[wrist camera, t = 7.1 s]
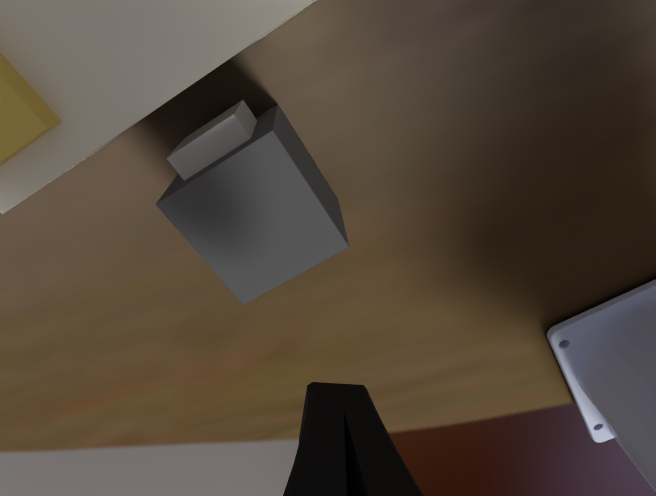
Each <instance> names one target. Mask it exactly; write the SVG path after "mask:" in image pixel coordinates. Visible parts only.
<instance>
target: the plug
mask: <svg viewBox="0 0 656 496" xmlns="http://www.w3.org/2000/svg"><path fill="white" fill-rule="evenodd" d="M166 159H167V160H168V161H169V162H170V164H171V165H172V166H173V167H174V169H175V170H176V171H177V172H178V173H179V174H178V175H177V176H176V178H175V179H174V180H173V182H172V183H171V184H170V186H169V187H168V188H167V190H166V191H165V192H164V194H163V195H162V197H161V198H160V199H159V201H158V202H157V203H156V205H157V206H158V208H159V209H160V210H161V211H162V212H163V213H164V214H165V216H166V217H167V218H168V219H169V220H170V221H171V222H172V224H173V225H174V226H175V227H176V228H177V229H178V231H179V232H180V233H181V234H182V235H183V236H184V237H185V239H186V240H187V241H188V242H189V243H190V244H191V245H192V247H193V248H194V249H195V250H196V251H197V252H198V253H199V255H200V256H201V257H202V258H203V259H204V260H205V261H206V263H207V264H208V265H209V266H210V267H211V268H212V269H213V271H214V272H215V273H216V274H217V275H218V276H219V277H220V279H221V280H222V281H223V282H224V283H225V284H226V286H227V287H228V288H229V289H230V290H231V291H232V292H233V294H234V295H235V296H236V297H237V298H238V299H239V300H240V302H241V303H242V304H243V305H244V304H246V303H248V302H250V301H251V300H253V299H255V298H257V297H259V296H260V295H262V294H264V293H266V292H268V291H270V290H271V289H273V288H275V287H277V286H279V285H281V284H282V283H284V282H286V281H288V280H290V279H291V278H293V277H295V276H297V275H299V274H301V273H302V272H304V271H306V270H308V269H310V268H312V267H313V266H315V265H317V264H319V263H321V262H322V261H324V260H326V259H328V258H330V257H332V256H333V255H335V254H337V253H339V252H341V251H343V250H344V249H346V248H348V247H349V244H348V240H347V235H346V231H345V227H344V223H343V218H342V214H341V210H340V206H339V201H338V199H337V197H336V195H335V194H334V192H333V191H332V189H331V187H330V186H329V184H328V183H327V181H326V180H325V178H324V176H323V175H322V173H321V172H320V170H319V168H318V167H317V165H316V164H315V162H314V160H313V159H312V157H311V156H310V154H309V153H308V151H307V149H306V148H305V146H304V145H303V143H302V141H301V140H300V138H299V137H298V135H297V133H296V132H295V130H294V129H293V127H292V126H291V124H290V122H289V121H288V119H287V118H286V116H285V114H284V113H283V111H282V110H281V108H280V106H279V105H278V104H277V105H275V106H274V107H272V108H271V109H269V110H268V111H266V112H265V113H263V114H262V115H260V116H258V117H257V118H255V116H254V115H253V113H252V112H251V110H250V109H249V107H248V106H247V104H246V103H245V101H244V100H241V101H240V102H238V103H237V104H235V105H234V106H232V107H231V108H229V109H228V110H226V111H225V112H223V113H222V114H220V115H219V116H217V117H216V118H214V119H213V120H211V121H210V122H208V123H207V124H205V125H204V126H202V127H200V128H199V129H197V130H196V131H194V132H193V133H191V134H190V135H188V136H187V137H185V138H184V139H183V140H182V142H181V143H180V144H179V145H178V146H177V147H176V148H175V149H174V150H173V151H172V153H171V154H170V155H169V156H168V157H167V158H166Z"/></svg>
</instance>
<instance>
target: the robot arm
mask: <svg viewBox="0 0 656 496" xmlns="http://www.w3.org/2000/svg"><path fill="white" fill-rule="evenodd" d="M547 338H548V340H549V342H550V345H551V347H552V349H553V351H554V354H555V356H556V358H557V361H558V363H559V365H560V367H561V370H562V372H563V374H564V377H565V379H566V381H567V384H568V386H569V388H570V390H571V393H572V395H573V397H574V400H575V402H576V404H577V406H578V409H579V411H580V413H581V416H582V418H583V420H584V422H585V425H586V427H587V429H588V432H589V434H590V436H591V437H592V438H593V440H594V441H595V442H604V441H607V440H609V439H612V438H615V439H616V440H617V442H618V443H619V444H620V445H621V447H622V448H623V450H624V451H625V452H626V454H627V455H628V456H629V457H630V459H631V460H632V461H633V463H634V464H635V465H636V467H637V468H638V469H639V471H640V472H641V473H642V474H643V476H644V477H645V478H646V480H647V481H648V483H649V484H650V485H651V487H652V488H653V489H654V490H655V492H656V279H655V280H653V281H651V282H649V283H646V284H644V285H642V286H640V287H638V288H635V289H633V290H631V291H629V292H627V293H625V294H622V295H620V296H618V297H616V298H614V299H611V300H609V301H607V302H605V303H603V304H601V305H598V306H596V307H594V308H592V309H590V310H587V311H585V312H583V313H581V314H579V315H577V316H574V317H572V318H570V319H568V320H566V321H563V322H561V323H559V324H557V325H555V326H553V327H551V328H550V329H549V331H548V333H547ZM563 340H564V341H563ZM561 341H562V342H561ZM560 342H561V343H560ZM283 496H424V495H423V493H422V492H421V490H420V488H419V487H418V485H417V483H416V482H415V480H414V479H413V477H412V475H411V474H410V472H409V470H408V468H407V467H406V465H405V463H404V461H403V460H402V458H401V456H400V454H399V453H398V451H397V449H396V447H395V446H394V444H393V442H392V440H391V438H390V436H389V434H388V432H387V430H386V428H385V427H384V425H383V423H382V421H381V419H380V417H379V415H378V413H377V411H376V408H375V406H374V404H373V402H372V400H371V398H370V395H369V393H368V391H367V389H366V388H365V387H364V385H353V384H336V383H318V382H312V383H311V384H309V385H307V391H306V397H305V404H304V410H303V417H302V423H301V430H300V436H299V447H298V450H297V454H296V457H295V461H294V465H293V468H292V471H291V474H290V477H289V480H288V483H287V486H286V489H285V491H284V495H283Z"/></svg>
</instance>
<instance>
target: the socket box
mask: <svg viewBox="0 0 656 496" xmlns="http://www.w3.org/2000/svg"><path fill="white" fill-rule="evenodd" d="M315 1H316V0H0V212H1V213H2V214H4V213H5V212H7V211H8V210H10V209H11V208H13V207H14V206H16V205H17V204H19V203H20V202H22V201H23V200H25V199H26V198H28V197H29V196H31V195H32V194H34V193H35V192H37V191H38V190H40V189H41V188H42V187H44V186H45V185H47V184H48V183H50V182H51V181H53V180H54V179H56V178H57V177H59V176H60V175H62V174H63V173H65V172H66V171H68V170H69V169H71V168H72V167H74V166H75V165H77V164H78V163H80V162H81V161H83V160H84V159H86V158H87V157H89V156H90V155H92V154H93V153H95V152H96V151H98V150H99V149H101V148H102V147H104V146H105V145H107V144H108V143H109V142H111V141H112V140H114V139H115V138H117V137H118V136H120V135H121V134H123V133H124V132H125V131H127V130H128V129H130V128H131V127H133V125H134V124H135V123H137V122H138V121H140V120H141V119H143V118H144V117H146V116H147V115H149V114H150V113H151V112H153V111H154V110H156V109H157V108H159V107H160V106H162V105H163V104H165V103H166V102H167V101H169V100H170V99H172V98H173V97H175V96H176V95H178V94H179V93H181V92H182V91H183V90H185V89H186V88H188V87H189V86H191V85H192V84H194V83H195V82H197V81H198V80H199V79H201V78H202V77H204V76H205V75H207V74H208V73H210V72H211V71H213V70H214V69H216V68H217V67H218V66H220V65H221V64H223V63H224V62H226V61H227V60H229V59H230V58H232V57H233V56H234V55H236V54H237V53H239V52H240V51H242V50H243V49H245V48H246V47H248V46H249V45H251V44H253V43H254V42H256V41H258V40H259V39H261V38H262V37H264V36H265V35H267V34H268V33H270V32H271V31H273V30H274V29H276V28H277V27H278V26H280V25H281V24H283V23H284V22H286V21H287V20H289V19H290V18H292V17H293V16H295V15H296V14H297V13H299V12H300V11H302V10H303V9H305V8H306V7H308V6H309V5H311V4H312V3H313V2H315Z"/></svg>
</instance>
